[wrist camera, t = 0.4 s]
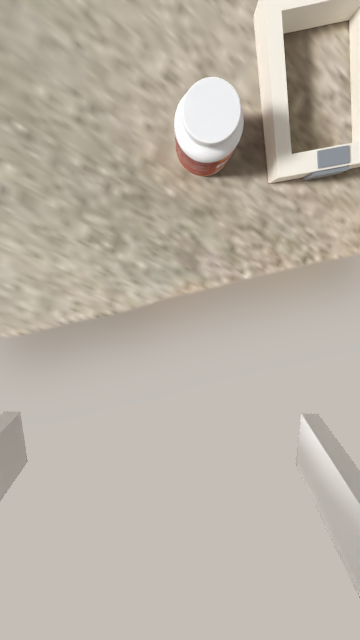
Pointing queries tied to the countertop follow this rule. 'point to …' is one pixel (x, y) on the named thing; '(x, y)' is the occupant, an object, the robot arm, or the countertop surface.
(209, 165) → the pill bottle
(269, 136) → the white divided tray
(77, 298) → the countertop surface
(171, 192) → the countertop surface
